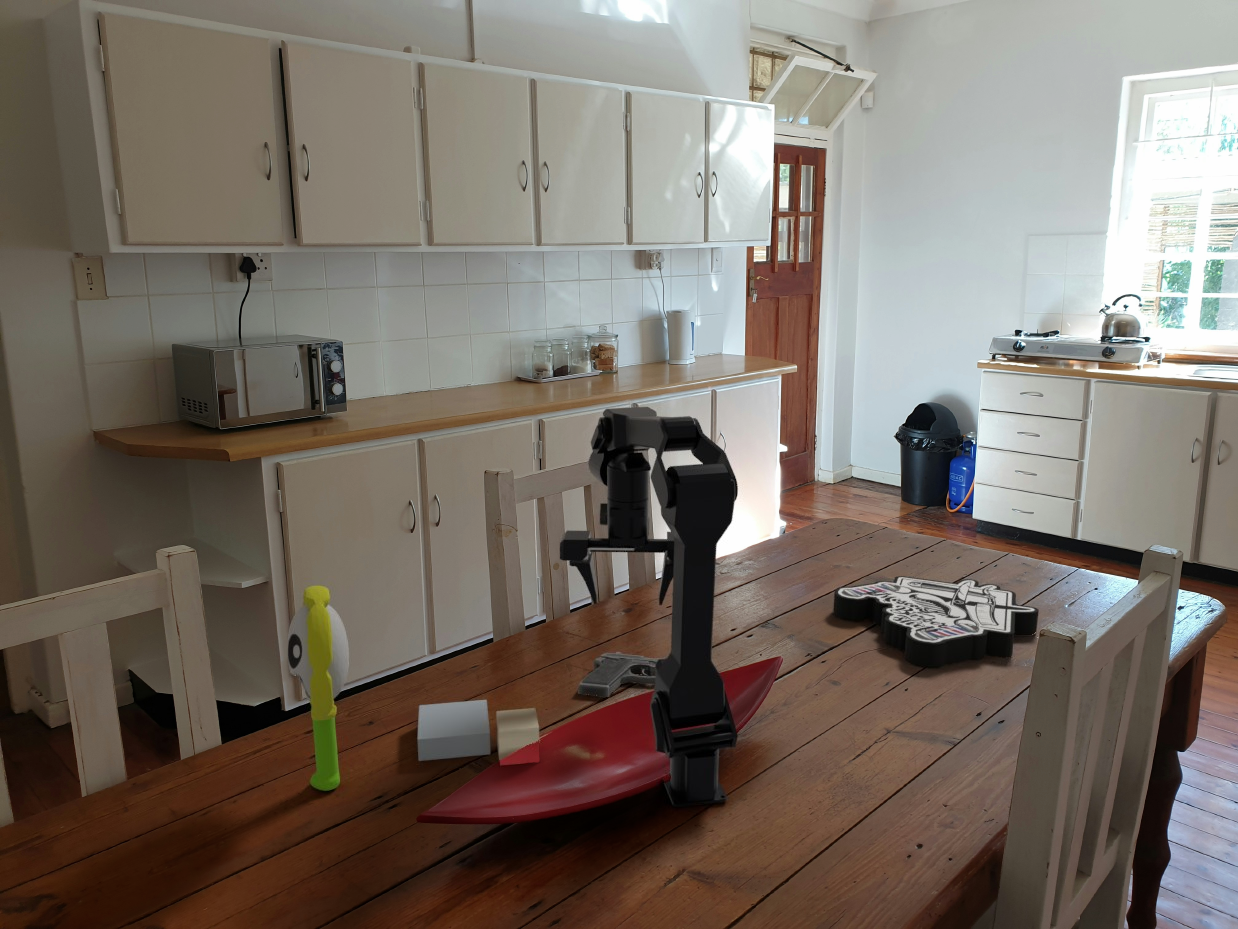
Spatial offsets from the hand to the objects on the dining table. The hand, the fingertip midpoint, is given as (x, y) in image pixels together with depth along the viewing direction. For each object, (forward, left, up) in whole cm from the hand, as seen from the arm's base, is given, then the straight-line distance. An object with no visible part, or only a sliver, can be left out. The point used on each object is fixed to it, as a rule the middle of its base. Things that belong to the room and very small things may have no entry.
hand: (628, 603), depth 131 cm
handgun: (+3, -3, -15) cm, 15 cm away
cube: (-14, +17, -14) cm, 26 cm away
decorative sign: (+14, -58, -15) cm, 62 cm away
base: (-9, +25, -14) cm, 30 cm away
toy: (-17, +40, -14) cm, 46 cm away
